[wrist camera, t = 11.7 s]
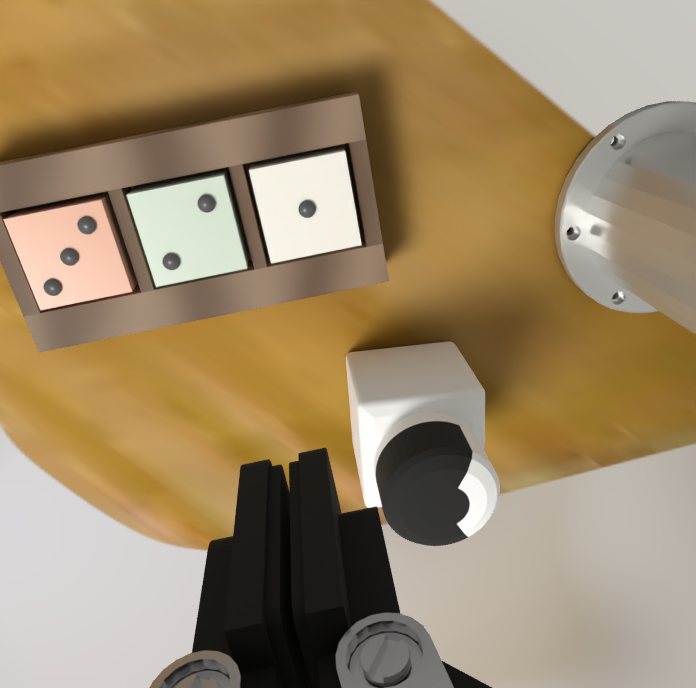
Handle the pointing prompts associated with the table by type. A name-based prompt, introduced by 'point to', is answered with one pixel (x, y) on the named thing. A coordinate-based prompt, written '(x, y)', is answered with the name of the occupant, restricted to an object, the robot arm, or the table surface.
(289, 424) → the table surface
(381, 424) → the medicine bottle
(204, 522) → the table surface
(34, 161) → the button board
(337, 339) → the table surface
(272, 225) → the button one cream
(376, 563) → the robot arm
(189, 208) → the button two sage
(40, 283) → the button three terracotta
